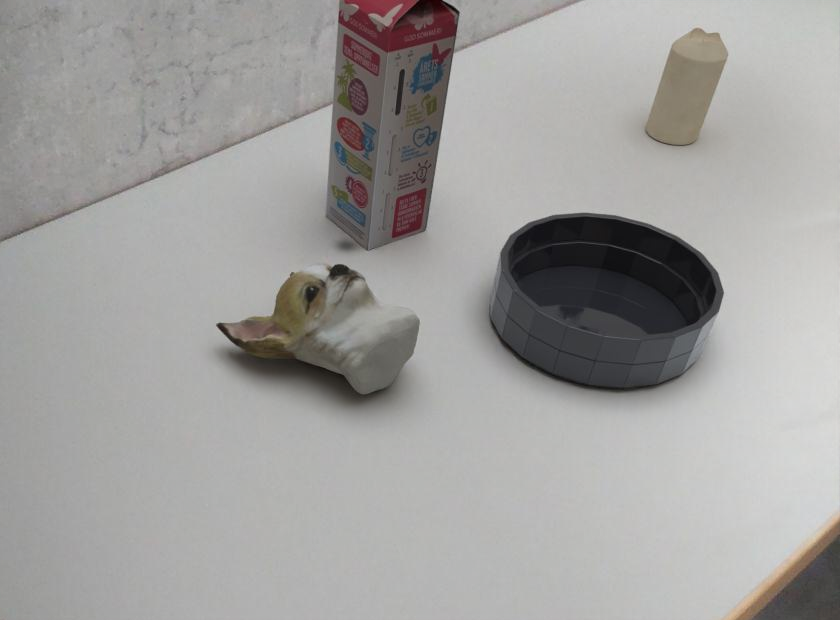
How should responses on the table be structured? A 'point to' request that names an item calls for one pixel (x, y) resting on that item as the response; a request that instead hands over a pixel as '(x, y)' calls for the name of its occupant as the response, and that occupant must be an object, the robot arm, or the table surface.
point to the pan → (604, 299)
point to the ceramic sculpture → (332, 327)
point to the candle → (687, 87)
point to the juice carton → (388, 115)
